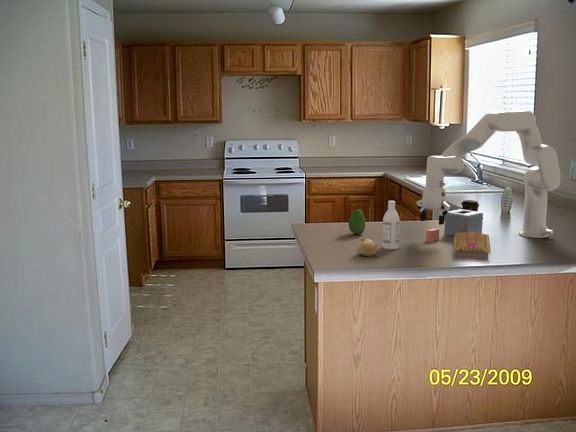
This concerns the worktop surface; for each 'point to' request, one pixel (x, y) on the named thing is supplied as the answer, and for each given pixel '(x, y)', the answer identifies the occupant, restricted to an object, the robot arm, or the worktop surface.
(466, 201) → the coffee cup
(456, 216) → the box
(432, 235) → the token
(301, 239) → the worktop surface
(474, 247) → the brown and pink package
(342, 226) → the worktop surface
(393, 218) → the bath foam
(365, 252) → the onion
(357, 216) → the avocado
